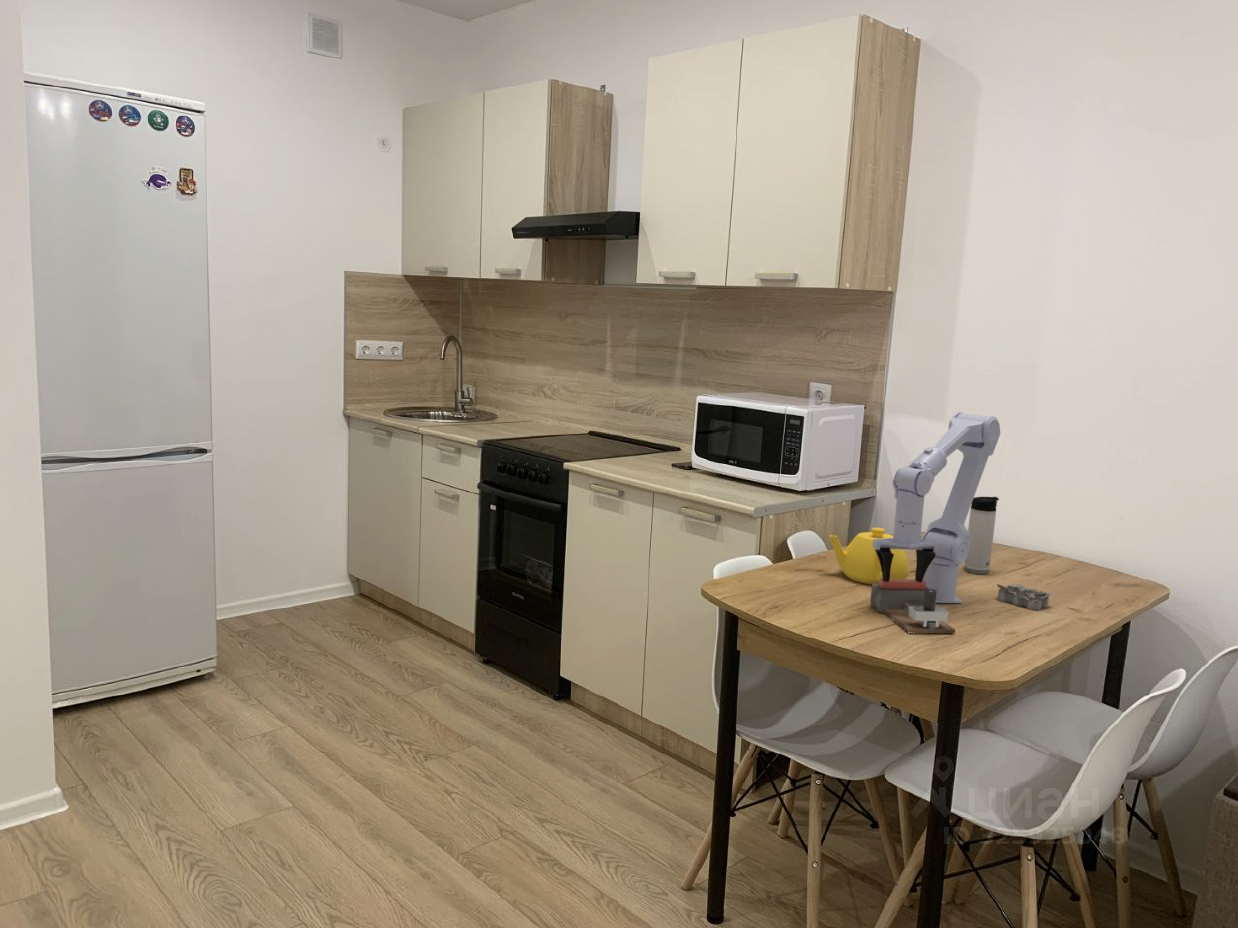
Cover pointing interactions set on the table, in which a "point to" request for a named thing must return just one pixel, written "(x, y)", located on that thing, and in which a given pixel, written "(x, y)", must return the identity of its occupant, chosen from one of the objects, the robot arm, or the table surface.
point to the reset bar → (902, 584)
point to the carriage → (928, 610)
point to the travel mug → (981, 534)
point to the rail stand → (904, 608)
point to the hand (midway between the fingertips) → (902, 580)
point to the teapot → (868, 558)
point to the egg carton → (1023, 596)
